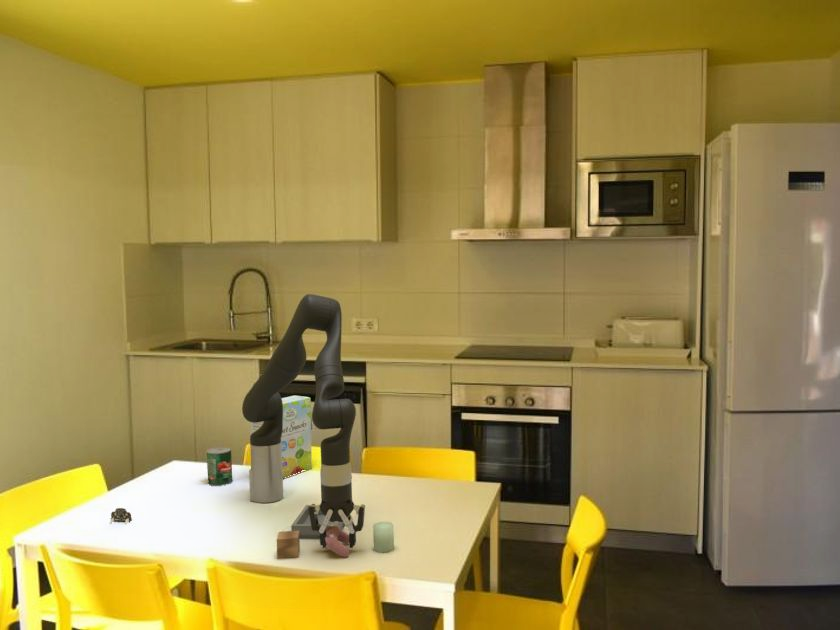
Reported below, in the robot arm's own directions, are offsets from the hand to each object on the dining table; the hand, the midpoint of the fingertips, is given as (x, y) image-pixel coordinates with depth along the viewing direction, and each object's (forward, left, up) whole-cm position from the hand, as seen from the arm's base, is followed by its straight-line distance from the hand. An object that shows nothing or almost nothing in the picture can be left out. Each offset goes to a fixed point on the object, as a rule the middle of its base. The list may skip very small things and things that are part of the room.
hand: (338, 546), depth 178 cm
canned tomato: (-51, +56, -1) cm, 76 cm away
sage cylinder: (+11, +2, -1) cm, 11 cm away
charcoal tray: (-8, +16, -1) cm, 18 cm away
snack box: (-32, +64, -1) cm, 72 cm away
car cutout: (-62, +19, -2) cm, 65 cm away
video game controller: (0, 0, -1) cm, 1 cm away
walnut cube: (-12, -2, -1) cm, 12 cm away
